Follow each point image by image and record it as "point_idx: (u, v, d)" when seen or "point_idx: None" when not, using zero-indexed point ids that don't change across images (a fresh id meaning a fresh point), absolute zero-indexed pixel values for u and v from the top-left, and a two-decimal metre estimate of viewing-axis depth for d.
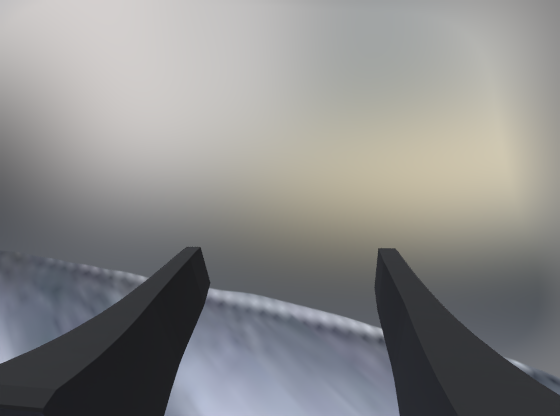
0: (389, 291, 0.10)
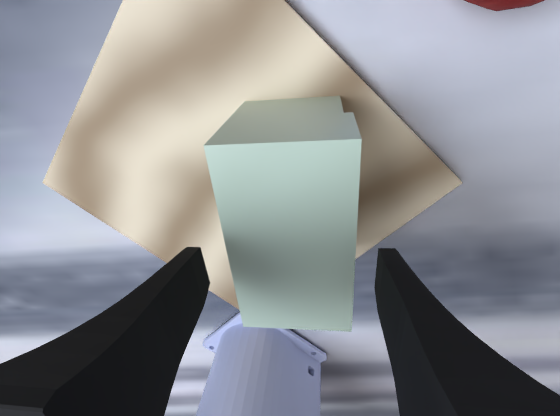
0: (389, 291, 0.10)
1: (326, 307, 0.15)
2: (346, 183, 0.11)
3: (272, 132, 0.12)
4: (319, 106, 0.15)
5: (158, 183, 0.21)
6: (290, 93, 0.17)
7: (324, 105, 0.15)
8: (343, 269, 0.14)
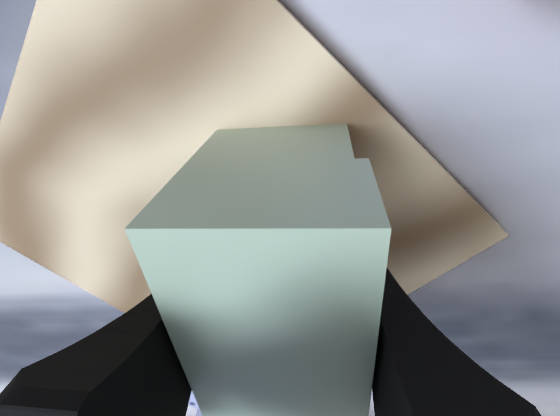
0: None
1: None
2: (362, 290, 0.07)
3: (242, 200, 0.07)
4: (318, 143, 0.10)
5: (113, 228, 0.16)
6: (278, 119, 0.12)
7: (325, 142, 0.10)
8: (354, 393, 0.09)
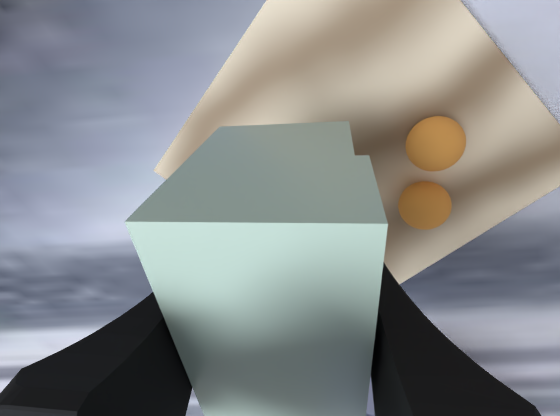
0: None
1: None
2: (358, 286, 0.07)
3: (241, 195, 0.07)
4: (319, 140, 0.10)
5: None
6: (432, 76, 0.17)
7: (326, 139, 0.10)
8: (351, 389, 0.09)
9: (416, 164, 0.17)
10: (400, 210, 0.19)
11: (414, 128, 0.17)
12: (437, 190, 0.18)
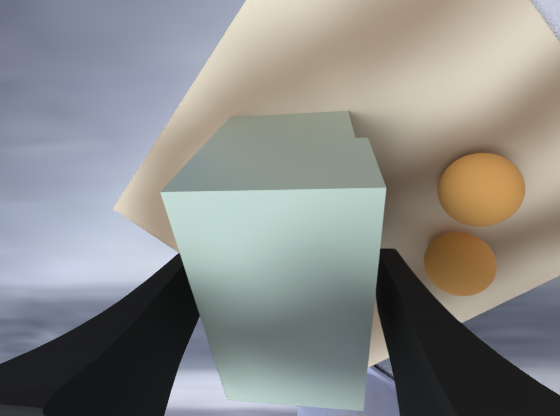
0: (389, 291, 0.10)
1: (331, 385, 0.12)
2: (361, 245, 0.08)
3: (258, 170, 0.09)
4: (322, 127, 0.11)
5: None
6: (477, 99, 0.12)
7: (329, 125, 0.12)
8: (354, 345, 0.10)
9: (453, 216, 0.13)
10: (427, 270, 0.15)
11: (452, 169, 0.12)
12: (479, 248, 0.14)
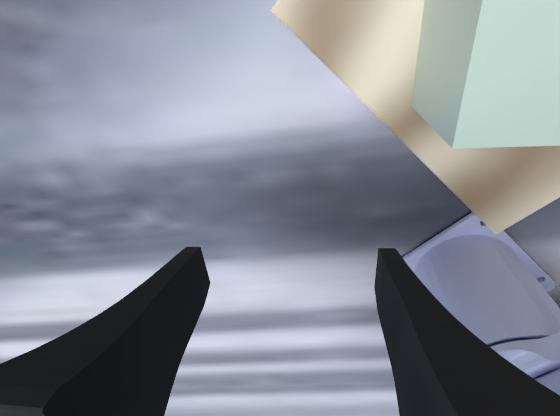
0: (389, 291, 0.10)
1: None
2: None
3: None
4: None
5: None
6: None
7: None
8: None
9: None
10: None
11: None
12: None
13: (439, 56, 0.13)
